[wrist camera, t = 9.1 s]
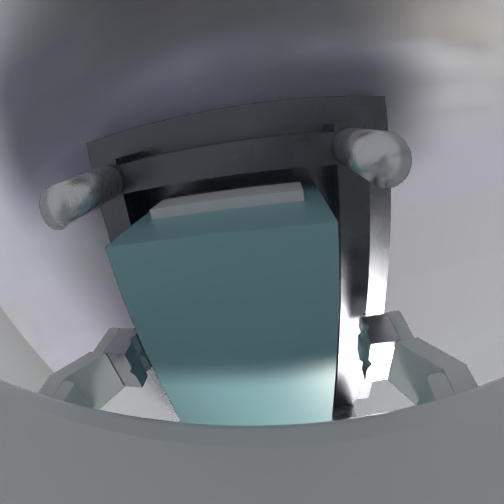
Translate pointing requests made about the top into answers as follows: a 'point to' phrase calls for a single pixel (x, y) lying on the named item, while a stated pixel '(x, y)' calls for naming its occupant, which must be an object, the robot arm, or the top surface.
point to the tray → (258, 172)
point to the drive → (237, 301)
